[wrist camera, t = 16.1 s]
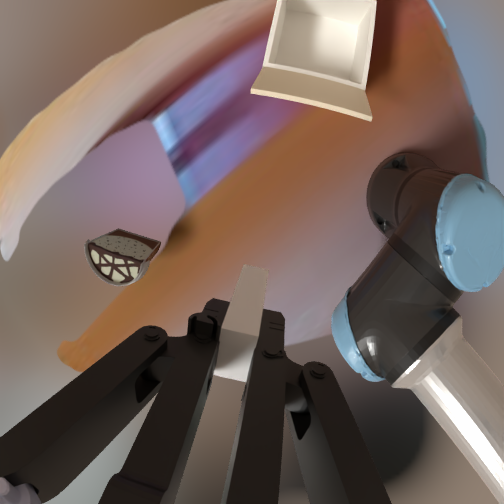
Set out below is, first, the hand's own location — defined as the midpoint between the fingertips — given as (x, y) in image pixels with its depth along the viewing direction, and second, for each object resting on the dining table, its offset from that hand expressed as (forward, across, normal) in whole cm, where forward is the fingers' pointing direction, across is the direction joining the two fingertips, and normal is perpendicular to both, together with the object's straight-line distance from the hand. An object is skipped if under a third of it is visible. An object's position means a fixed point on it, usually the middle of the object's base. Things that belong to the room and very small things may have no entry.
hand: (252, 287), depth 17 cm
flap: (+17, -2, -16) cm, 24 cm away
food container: (+31, +23, +14) cm, 41 cm away
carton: (+30, -2, -26) cm, 40 cm away
